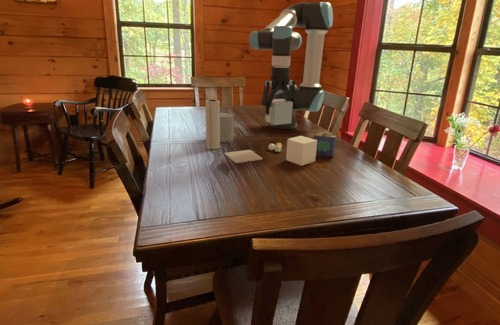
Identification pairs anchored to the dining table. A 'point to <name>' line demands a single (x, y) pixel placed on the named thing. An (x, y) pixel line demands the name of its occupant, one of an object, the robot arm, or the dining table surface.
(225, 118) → the speckled beige cylinder
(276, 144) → the amber marble
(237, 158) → the mat
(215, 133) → the paper towel roll
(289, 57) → the robot arm
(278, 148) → the green marble
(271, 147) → the white marble
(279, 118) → the pale sage cube
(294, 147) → the beige rectangular block
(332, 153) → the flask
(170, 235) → the dining table surface
